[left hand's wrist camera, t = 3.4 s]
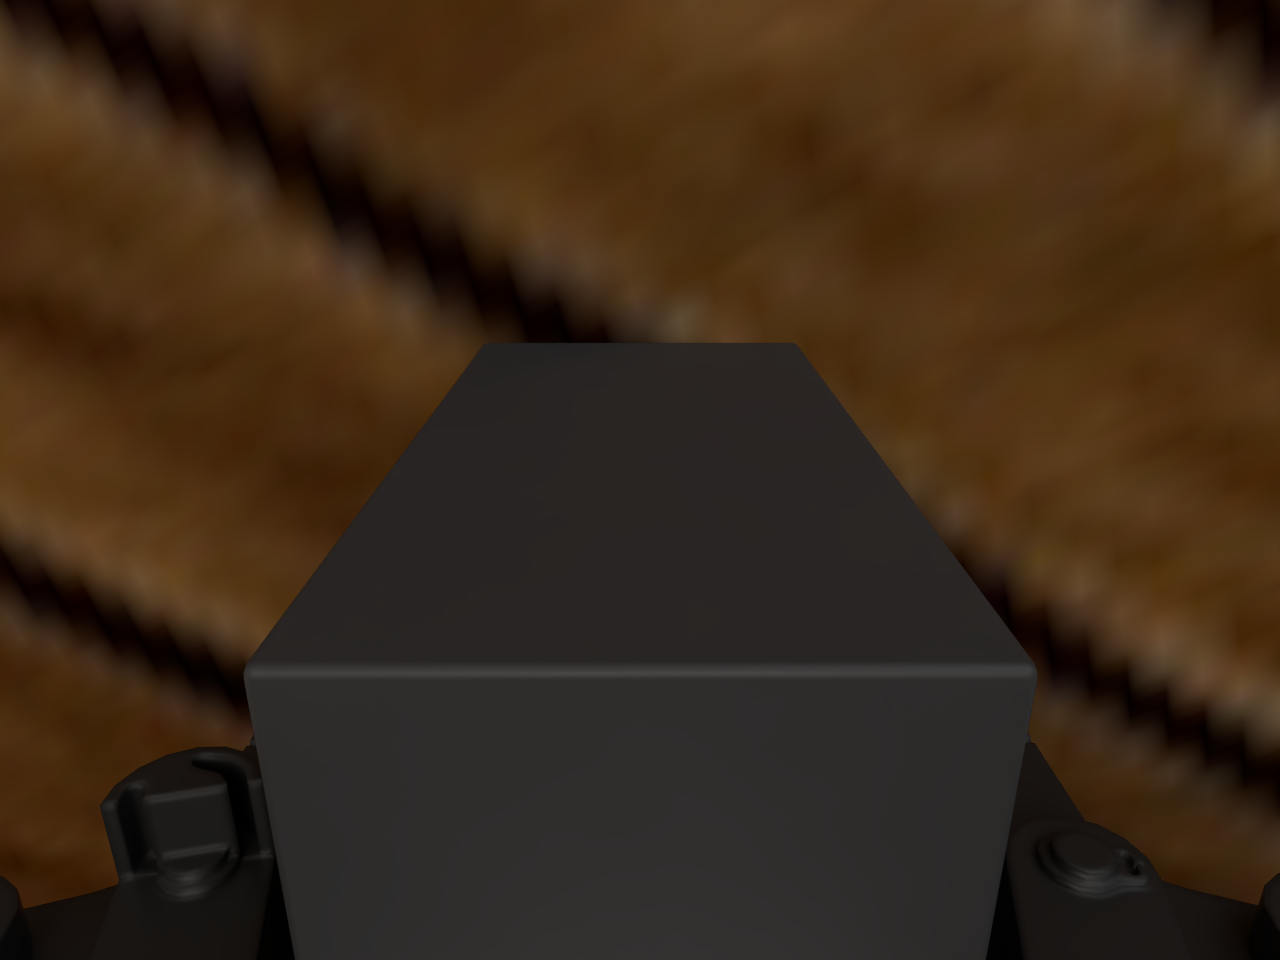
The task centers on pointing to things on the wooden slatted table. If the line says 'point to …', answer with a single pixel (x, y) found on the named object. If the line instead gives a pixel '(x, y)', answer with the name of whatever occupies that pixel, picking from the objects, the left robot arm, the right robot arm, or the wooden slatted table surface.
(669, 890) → the bar
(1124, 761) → the wooden slatted table surface
